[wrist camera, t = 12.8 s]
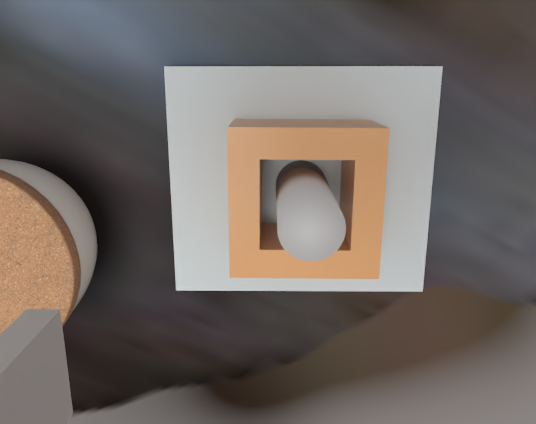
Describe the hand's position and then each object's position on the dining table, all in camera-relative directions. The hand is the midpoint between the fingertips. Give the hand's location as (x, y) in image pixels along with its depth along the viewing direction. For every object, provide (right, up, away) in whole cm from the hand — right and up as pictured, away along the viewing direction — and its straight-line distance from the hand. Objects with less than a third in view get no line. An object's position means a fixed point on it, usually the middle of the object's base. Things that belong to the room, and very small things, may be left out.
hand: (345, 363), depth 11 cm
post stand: (0, +5, +20) cm, 21 cm away
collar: (0, +5, +19) cm, 20 cm away
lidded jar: (-17, +3, +21) cm, 27 cm away
